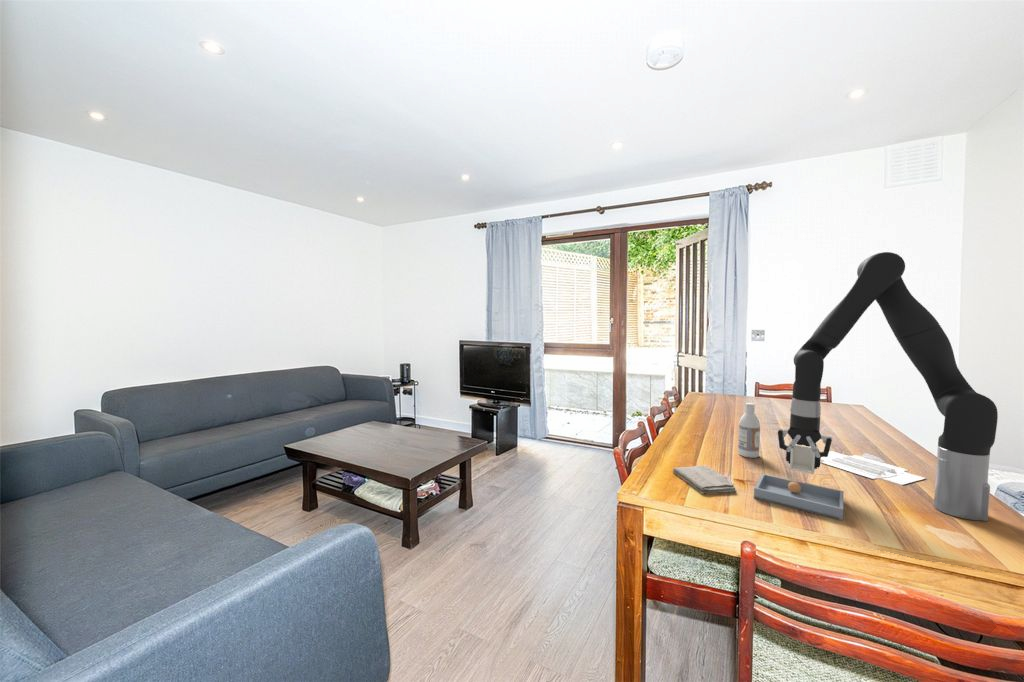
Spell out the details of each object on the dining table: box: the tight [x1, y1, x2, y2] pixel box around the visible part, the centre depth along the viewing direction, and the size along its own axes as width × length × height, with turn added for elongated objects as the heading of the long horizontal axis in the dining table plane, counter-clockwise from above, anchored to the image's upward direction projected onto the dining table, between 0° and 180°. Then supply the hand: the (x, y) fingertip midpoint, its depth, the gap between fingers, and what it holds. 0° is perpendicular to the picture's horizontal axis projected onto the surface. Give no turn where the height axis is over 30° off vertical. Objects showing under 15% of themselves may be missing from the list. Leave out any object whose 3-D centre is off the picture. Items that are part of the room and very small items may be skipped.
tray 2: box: [820, 450, 927, 486], centre depth 139 cm, size 20×28×4 cm
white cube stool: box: [789, 444, 816, 475], centre depth 125 cm, size 6×6×6 cm
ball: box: [788, 482, 801, 493], centre depth 118 cm, size 3×3×3 cm
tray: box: [753, 473, 845, 522], centre depth 115 cm, size 20×14×3 cm
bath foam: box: [737, 402, 761, 459], centre depth 151 cm, size 7×7×20 cm
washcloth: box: [672, 464, 737, 495], centre depth 127 cm, size 12×18×3 cm, turn 8°
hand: (802, 465), depth 125 cm, fingers closed on white cube stool, 6 cm apart
